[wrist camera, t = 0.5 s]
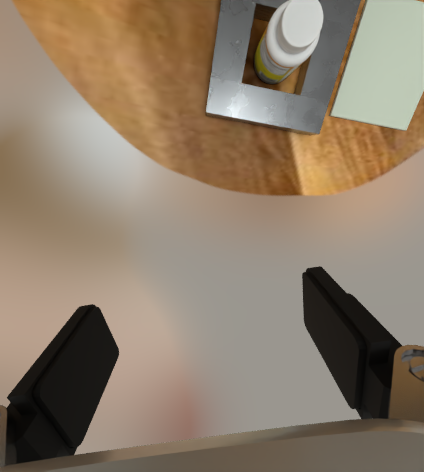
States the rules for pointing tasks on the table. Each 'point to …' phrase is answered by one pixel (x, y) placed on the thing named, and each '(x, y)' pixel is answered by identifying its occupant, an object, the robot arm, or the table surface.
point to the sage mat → (384, 65)
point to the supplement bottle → (288, 39)
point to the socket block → (266, 100)
